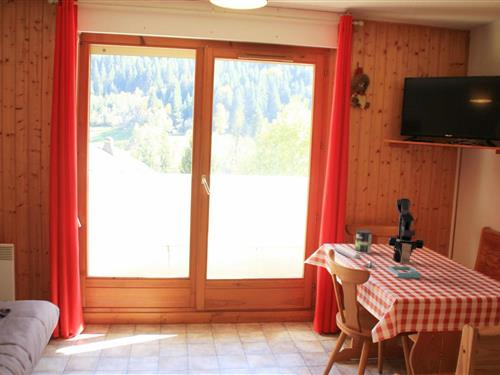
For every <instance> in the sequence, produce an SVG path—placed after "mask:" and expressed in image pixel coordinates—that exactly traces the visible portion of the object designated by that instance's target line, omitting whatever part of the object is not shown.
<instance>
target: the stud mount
mask: <svg viewBox="0 0 500 375" xmlns="http://www.w3.org/2000/svg"><path fill="white" fill-rule="evenodd" d="M362 267H364V268H365V269H367V270H368V269H370V270H371V269H375V270H378V269H379V268H378V267H376V266H375V265H373V262H372V261H368V263H367V264H365V265H364V264H362Z"/></svg>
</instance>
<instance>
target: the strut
mask: <svg viewBox="0 0 500 375" xmlns="http://www.w3.org/2000/svg"><path fill="white" fill-rule="evenodd" d="M410 252H411V245H410V244H404V243H402V255H401V262H400V265H403V266H404V265H406V266H410V260H411V256H410Z"/></svg>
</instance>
